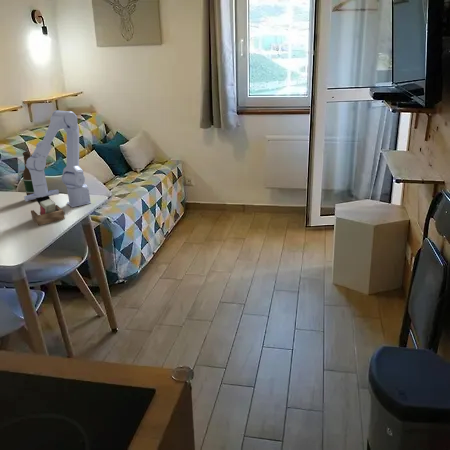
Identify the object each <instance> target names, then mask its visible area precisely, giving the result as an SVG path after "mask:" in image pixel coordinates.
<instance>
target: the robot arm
mask: <svg viewBox="0 0 450 450" xmlns="http://www.w3.org/2000/svg"><path fill="white" fill-rule="evenodd" d="M49 121H50V123H49V125H48V127H47V129H46V131H45V134H44V137H43V139H42V140H41V141H38V142H37V143H36V145H35V146H36V147H35V148H34V150H33V152H32V153H31V155H30V156H31V157H30V158H28V159H27V161H26V164H25V163H24V166H25V165H26V167H27V168H28V169H29V172H30V174H31V178H32V183H33V188H34V194H30V195H27V194H26V195H24V196H23V197H24V201H25V202H29V200H33V199H36V200H37V201H36V202H37V203H38V205H39V206H40V202H42V201H45V200H48V199H51V197H50V196H56V195H57V196H58V195H60V191H59V189H58V188H57V189H51V190H48V184H47V178H46V173H45V168H46V166H47V158H48V156H49V154H50V152H51V150H52V146H51V144H52V142H53V140H54V139H55V137H56V135H57V134H58V132H59V130H62V129H63V130H64V131H65V132H66V166H65V167H64V168H63V169H62V175H61V182H62V184H64V185H65V187H66V191H67V197H68V201H67V202H66V204H67V205H68V206H69V207H71V208H76V207H80V206H85V205H89V204H92V202H91V196H90V189H89V188H88V185H87V184H86V177H85V175H84V170H83V169H82V168H81V166H80V126H79V124H78V115H76V113H75V112H74V111H71V110H68V111H67V110H59V109H56V110H54V111H53V112H52V113H51V115H50V117H49Z"/></svg>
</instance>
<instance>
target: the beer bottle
mask: <svg viewBox="0 0 450 450" xmlns="http://www.w3.org/2000/svg"><path fill="white" fill-rule="evenodd" d="M22 156H23V162H24V170H23V172H22V179H23V183H24V184H23V185H24V188H25V195H26V196H27V195H30V194H34V188H33V183H32V178H31V174H30V172H29V169H28V168H27V167H26V165H25V164H26V161H27V159H28V158H30V157H31V156H32V153H31V151H29V150H27V151H23V152H22ZM28 202H37V200H36V199H33V200H28Z"/></svg>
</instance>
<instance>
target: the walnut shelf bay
mask: <svg viewBox="0 0 450 450" xmlns="http://www.w3.org/2000/svg"><path fill="white" fill-rule="evenodd" d="M30 214H31V220H32V221H34V223H35V224H36V225H37V226H41V225H46V224H50V223H55V222H57V221H62V220H65V219H66V217H65V212H64V210H63V209H62V208H61V207H60V206H59V205H58V204H55V212H51V213H47V214H42V215H40V214H38V213H37V212H36V211H35V210H34V209H33V210H30Z"/></svg>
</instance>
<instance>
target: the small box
mask: <svg viewBox="0 0 450 450" xmlns="http://www.w3.org/2000/svg"><path fill="white" fill-rule="evenodd" d="M55 205H56V202H54V200H52V199H51V198H50V199H48V200H45V201H42V202H40V205H39V207H40V209H39V210H40V211H39V213H40V214H39V215H42V214H47V213H51V212H55Z"/></svg>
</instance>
